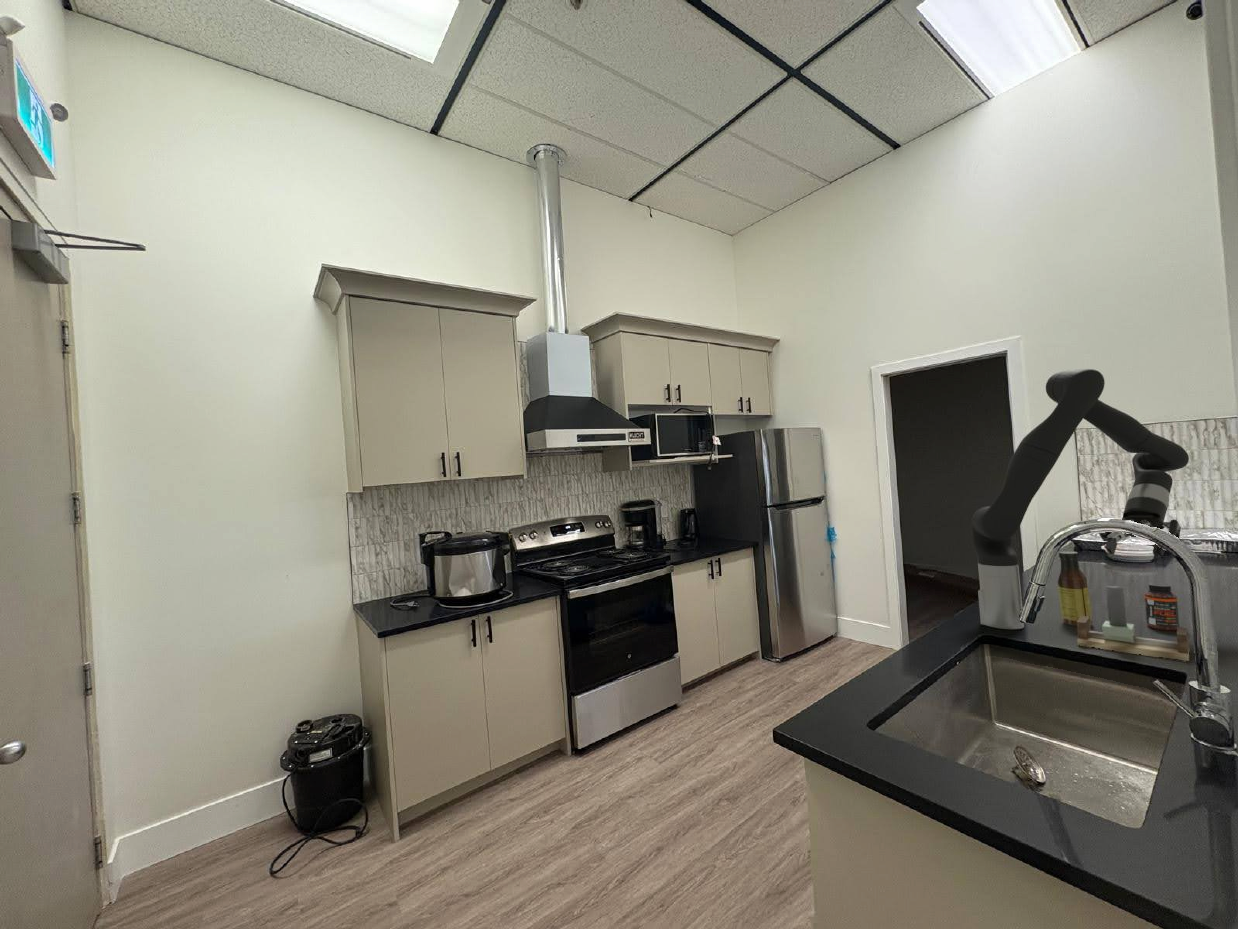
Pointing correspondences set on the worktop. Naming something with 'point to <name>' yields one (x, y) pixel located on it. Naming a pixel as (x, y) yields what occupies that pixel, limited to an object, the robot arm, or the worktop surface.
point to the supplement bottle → (1161, 607)
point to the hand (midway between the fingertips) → (1132, 553)
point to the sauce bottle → (1073, 589)
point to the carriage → (1117, 617)
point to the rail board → (1135, 643)
